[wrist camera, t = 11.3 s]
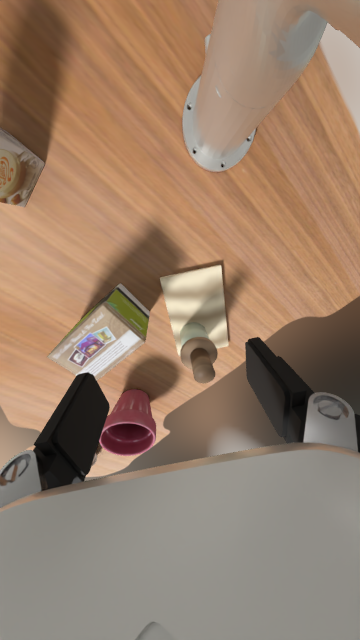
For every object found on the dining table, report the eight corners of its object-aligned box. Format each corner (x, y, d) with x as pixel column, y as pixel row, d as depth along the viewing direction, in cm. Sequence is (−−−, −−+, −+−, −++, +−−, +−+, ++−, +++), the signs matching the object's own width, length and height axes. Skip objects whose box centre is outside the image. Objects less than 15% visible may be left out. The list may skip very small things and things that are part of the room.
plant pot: (162, 387, 56) (162, 427, 45) (151, 416, 62) (147, 459, 50) (116, 378, 53) (102, 418, 42) (108, 410, 59) (94, 453, 47)
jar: (176, 325, 46) (179, 342, 38) (204, 319, 46) (212, 335, 38) (182, 348, 49) (185, 367, 42) (208, 342, 49) (215, 361, 41)
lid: (177, 341, 38) (179, 362, 32) (214, 333, 38) (223, 353, 32) (183, 369, 42) (187, 394, 35) (217, 362, 42) (227, 386, 35)
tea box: (110, 345, 48) (90, 388, 35) (79, 320, 44) (42, 357, 31) (151, 311, 45) (146, 344, 32) (121, 280, 41) (100, 303, 28)
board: (159, 277, 41) (159, 278, 40) (219, 264, 41) (221, 265, 40) (178, 353, 51) (178, 356, 50) (227, 343, 51) (228, 345, 50)
